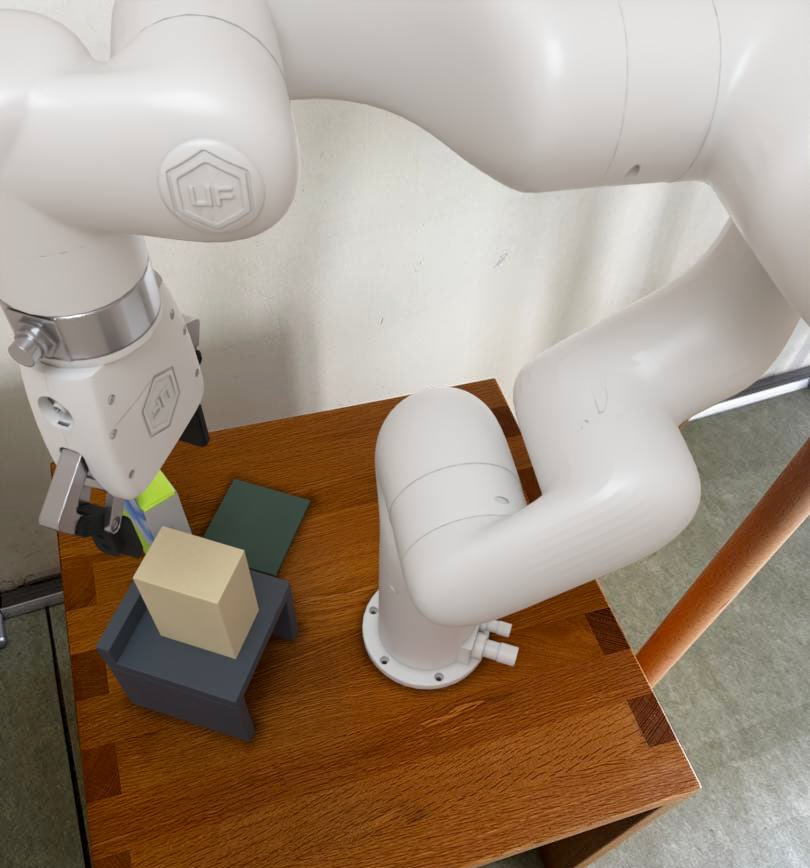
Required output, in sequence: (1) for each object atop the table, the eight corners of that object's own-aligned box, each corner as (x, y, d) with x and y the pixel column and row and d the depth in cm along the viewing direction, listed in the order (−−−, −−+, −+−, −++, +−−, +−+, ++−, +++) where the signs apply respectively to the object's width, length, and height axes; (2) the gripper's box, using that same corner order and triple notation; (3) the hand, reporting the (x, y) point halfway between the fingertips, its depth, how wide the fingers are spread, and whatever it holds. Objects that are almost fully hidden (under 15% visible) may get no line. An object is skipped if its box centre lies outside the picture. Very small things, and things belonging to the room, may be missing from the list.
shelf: (298, 631, 83) (288, 567, 72) (250, 742, 77) (231, 690, 66) (188, 597, 85) (162, 530, 74) (132, 703, 78) (95, 647, 68)
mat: (310, 502, 91) (310, 500, 91) (275, 577, 86) (275, 575, 86) (234, 480, 93) (234, 478, 92) (195, 553, 87) (195, 551, 87)
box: (209, 577, 86) (175, 477, 71) (174, 599, 84) (132, 501, 70) (157, 510, 90) (116, 402, 75) (123, 529, 89) (74, 423, 74)
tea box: (186, 587, 74) (162, 525, 65) (259, 609, 73) (244, 549, 64) (160, 635, 71) (132, 577, 63) (236, 659, 70) (217, 604, 62)
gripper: (56, 439, 37) (145, 615, 52) (222, 209, 46) (259, 414, 60) (-90, 396, 38) (38, 580, 53) (101, 179, 47) (165, 388, 62)
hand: (156, 491), depth 57 cm, fingers open, 9 cm apart
